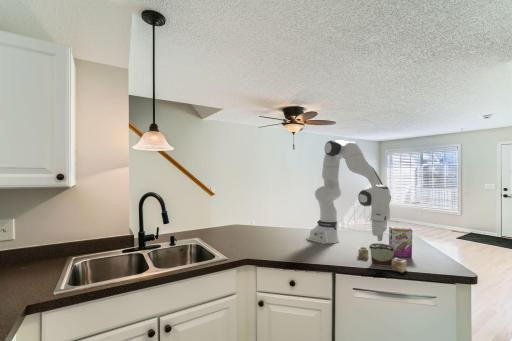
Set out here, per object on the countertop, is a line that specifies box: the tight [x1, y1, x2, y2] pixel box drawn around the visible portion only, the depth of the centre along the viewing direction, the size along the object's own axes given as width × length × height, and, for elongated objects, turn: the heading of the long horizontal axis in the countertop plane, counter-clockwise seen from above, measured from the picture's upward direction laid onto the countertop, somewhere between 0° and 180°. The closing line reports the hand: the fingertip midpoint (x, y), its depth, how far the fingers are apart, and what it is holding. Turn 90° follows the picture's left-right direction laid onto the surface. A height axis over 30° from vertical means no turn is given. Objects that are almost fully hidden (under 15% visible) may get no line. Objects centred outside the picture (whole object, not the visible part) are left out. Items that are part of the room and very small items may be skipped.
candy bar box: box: [388, 226, 413, 259], centre depth 145 cm, size 11×5×16 cm, turn 77°
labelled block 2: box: [391, 257, 408, 273], centre depth 126 cm, size 5×5×5 cm
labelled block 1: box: [357, 246, 369, 260], centre depth 144 cm, size 5×5×5 cm
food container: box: [368, 243, 395, 268], centre depth 134 cm, size 12×6×10 cm, turn 71°
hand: (379, 240), depth 134 cm, fingers closed
